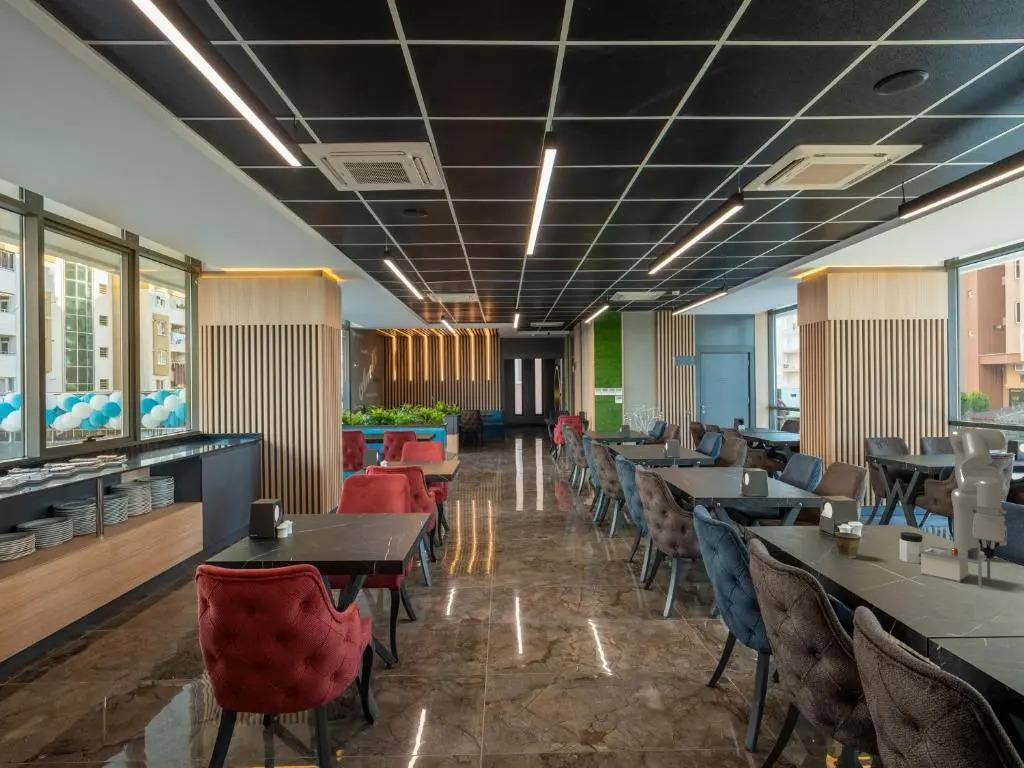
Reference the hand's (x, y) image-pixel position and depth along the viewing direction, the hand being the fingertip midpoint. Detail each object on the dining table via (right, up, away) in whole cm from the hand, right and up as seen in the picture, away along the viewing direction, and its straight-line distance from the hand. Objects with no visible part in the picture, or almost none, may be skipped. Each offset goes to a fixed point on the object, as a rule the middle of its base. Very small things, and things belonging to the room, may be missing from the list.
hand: (989, 557), depth 230 cm
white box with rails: (-8, -11, +9) cm, 16 cm away
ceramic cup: (-33, -11, +41) cm, 54 cm away
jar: (-8, -11, +33) cm, 35 cm away
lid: (-5, -2, +6) cm, 8 cm away
